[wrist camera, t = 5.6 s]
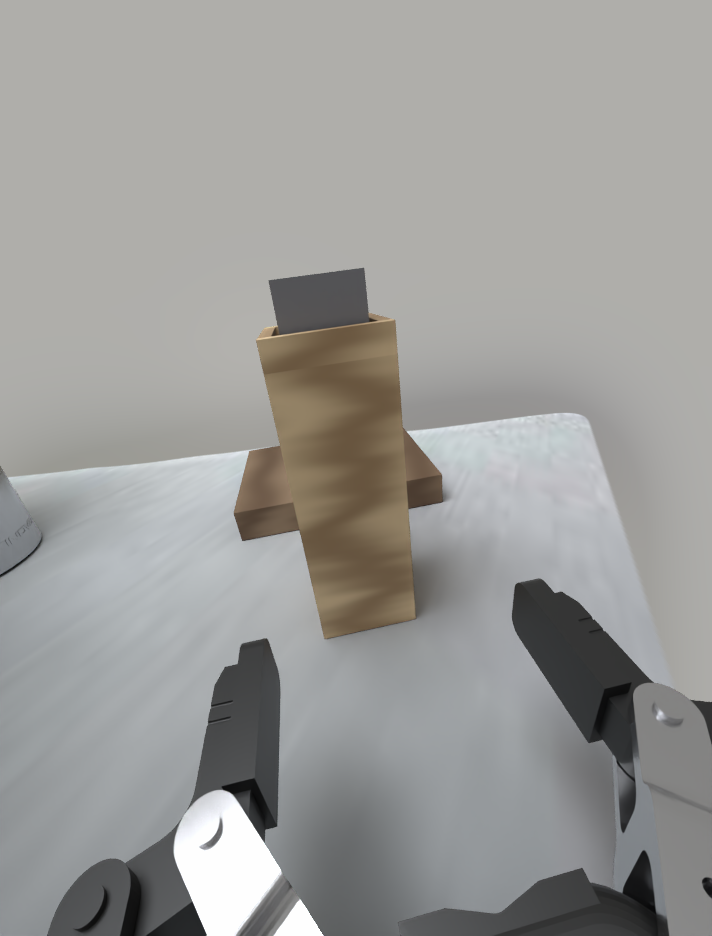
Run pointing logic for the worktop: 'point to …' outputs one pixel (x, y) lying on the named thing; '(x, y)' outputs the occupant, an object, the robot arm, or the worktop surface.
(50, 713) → the worktop surface
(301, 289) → the block
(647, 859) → the robot arm
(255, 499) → the block
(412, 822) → the worktop surface
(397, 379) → the wooden square tube
